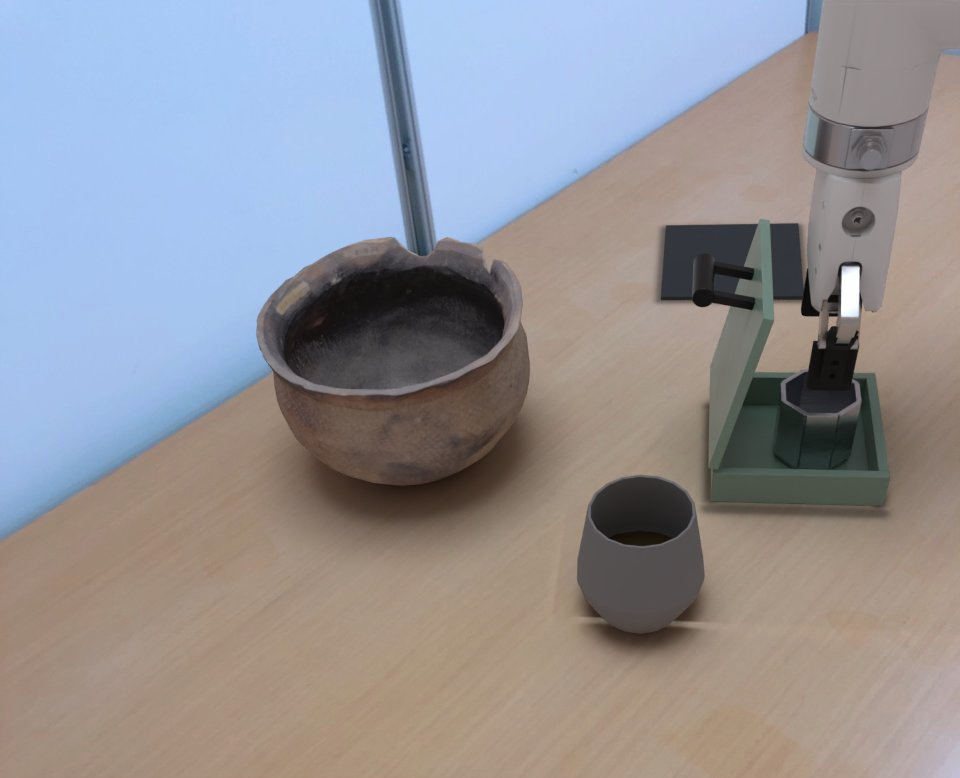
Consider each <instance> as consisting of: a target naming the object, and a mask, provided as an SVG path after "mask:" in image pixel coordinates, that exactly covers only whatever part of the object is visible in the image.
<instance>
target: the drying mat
mask: <svg viewBox="0 0 960 778" xmlns="http://www.w3.org/2000/svg"><path fill="white" fill-rule="evenodd" d="M799 225H800V224H799V223H798V222H795V223H794V222H792V223H789V222H788V223H786V222H785V223H770V237H771V258H772V280H773V301H774V300H776V301H777V300H778V301H779V300H781V301H783V300H802V298H803V291H804V279H803V278H804V277H803V266H802V265H803V264H802V254H801V253H802V251H801V239H800V229H799V228H800V226H799ZM757 226H758V223H726V224H725V223H723V224H720V223H719V224H718V223H717V224H666V225H665V233H664V234H665V235H664V246H663V247H664V249H663V264H662V275H661V276H662V277H661V292H660V300H661V301H693V300H692V290H693V264H694V259H695V258H696V256H698V255H699V254H701V253H708V254H711V255H712V256H713V257H714V260H715V261H717V262H723V263H728V264H733V265H739V266H744V264H745V262H746V259H747V256H748V253H749V250H750V247H751V244H752V241H753V238H754V235H755V232H756V229H757ZM739 279H740V278H735V277H729V276H724V275H718V274H715V282H714V290H717V291H722V292H727V293H733V294H735V291H736V288H737V285H738V282H739Z"/></svg>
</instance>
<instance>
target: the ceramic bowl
mask: <svg viewBox="0 0 960 778" xmlns="http://www.w3.org/2000/svg"><path fill="white" fill-rule="evenodd" d="M523 305H524V304H523V291H522V285H521V284H520V281H519V279H518V278H517V276H516V274H515V272H514V270H513V269H512V268H511V267H510V265H509V263H507V262H505V261H504V260H500V259H493V260H492V263H491V265H490V268H489V267H488V265H487V262H486V257H485V252H484V248H483V247H482V246H480V245H479V244H476V243H472V242H464V241H460V240H459V239H456V238H452V237H449V236H446V237H444V238H442V239H440V240H437V241H436V244H435V247H434V249H433V251H431V252H430V253H429V254H427V255H419V254H417V253H414V252H413V251H411V250H409V249H408V248H407V247H405V245H403V244H402V243H401V242H400V241H399V240H398V239H397V238H396V237H393V236H386V237H380V238H369V239H363V240H360V241H357V242H353V243H351V244H347V245H346V246H342V247H340V248H339V249H336V250H334V251H332V252H330V253H328V254H326V255H324V256H322V257H321V258H319V259H317V260H316V261H314V262H313V263H311V264H308V265H306V266H304V267H302V269H300V270H299V271H298V272H297V273H296V274H295V275H294V276H291V277H289V278H287V279H285V280H284V281H283V282H282V283H281V284H280V286H278V287H277V289H275V290H274V291H273V292H272V293H271V294H270V295H269V297H268V298H267V300H266V301H265V302H264V303H263V305H262V307H261V309H260V311H259V313H258V315H257V318H256V330H255V334H256V335H255V337H256V341H257V344H258V348H259V351H260V352H261V355H262V358H263V359H264V361H265V362H266V364H267V365H268V367H269V368H270V370H271V371H272V375H273V386H274V391H275V396H276V401H277V404H278V408H279V410H280V412H281V414H282V416H283V419H284V420H285V421H286V424H287V426H288V427H289V430H290V431H291V433H292V434H293V436H294V437H295V439H296V440H297V441H298V442H299V443H300V444H301V446H303V447H304V448H305V449H306V450H307V451H308V452H309V453H310V454H311V455H312V456H313V457H315V458H316V459H318V460H319V461H320V462H321V463H323V464H324V465H326V466H327V467H329V468H330V469H332V470H334V471H336V472H338V473H341V474H343V475H345V476H347V477H350V478H353V479H358V480H362V481H366V482H369V483H372V484H380V485H386V486H387V485H388V486H415V485H423V484H424V485H425V484H428V483H429V484H430V483H434V482H436V481H439V480H442V479H444V478H447V477H449V476H452V475H454V474H457V473H459V472H461V471H463V470H464V469H467V468H468V467H470V466H471V465H473V464H475V463H477V462H478V461H479V460H481V459H483V458H484V457H485V456H486V455H488V453H489V452H491V451H492V450H493V449H494V447H495V446H496V445H497V444H498V443H499V441H500V440H501V439H502V438H503V437H504V435H505V434H506V433H507V432H508V431H509V429H510V428H511V427H512V425H513V424H514V422H515V421H516V419H517V418H518V415H519V414H520V412H521V410H522V408H523V406H524V404H525V400H526V398H527V395H528V391H529V385H530V375H531V361H530V353H529V351H530V350H529V344H528V336H527V332H526V330H525V329H524V325H523V324H522V315H523Z"/></svg>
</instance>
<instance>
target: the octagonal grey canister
mask: <svg viewBox="0 0 960 778" xmlns="http://www.w3.org/2000/svg"><path fill="white" fill-rule="evenodd" d="M808 369H809V368H804V369H800V370H798V371H797V373H795V374H793V375H792V376H790V377H788V378H787V379H785V380H783V381H782V382H781V384H780V391H779V399H778V406H777V414H776V421H775V429H774V453H775V455H777V456H778V457H779V458H780V459H781V461H783V462H784V463H785V464H786V465H788V466H790V467H792V468H794V469H814V470H830V469H832V468H835V467H836V466H838V465H839V464H841V463H842V461H843V460H845V459H846V458H848V457H849V456H850V455H851V451H852V446H853V441H854V437H855V432H856V427H857V422H858V417H859V412H860V407H861V402H862V401H861V393H860V385H859V383H858V382H857V381H855V380H853V379H852V384H851V388H850V389H849V390H847V391H823V390H808V389H807V385H806V381H807V375H808Z"/></svg>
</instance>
